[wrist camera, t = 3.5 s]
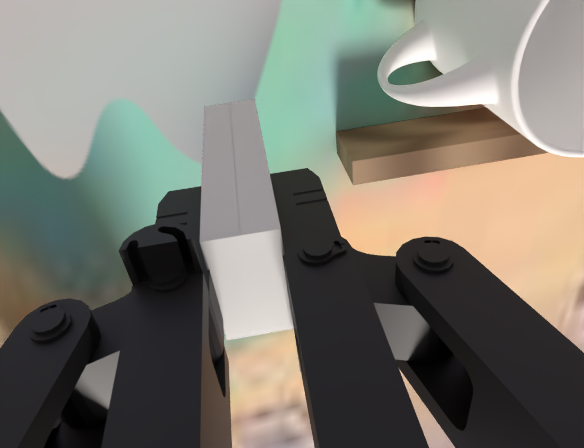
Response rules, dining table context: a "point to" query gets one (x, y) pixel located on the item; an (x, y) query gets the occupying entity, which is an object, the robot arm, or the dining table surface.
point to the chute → (429, 145)
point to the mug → (500, 64)
